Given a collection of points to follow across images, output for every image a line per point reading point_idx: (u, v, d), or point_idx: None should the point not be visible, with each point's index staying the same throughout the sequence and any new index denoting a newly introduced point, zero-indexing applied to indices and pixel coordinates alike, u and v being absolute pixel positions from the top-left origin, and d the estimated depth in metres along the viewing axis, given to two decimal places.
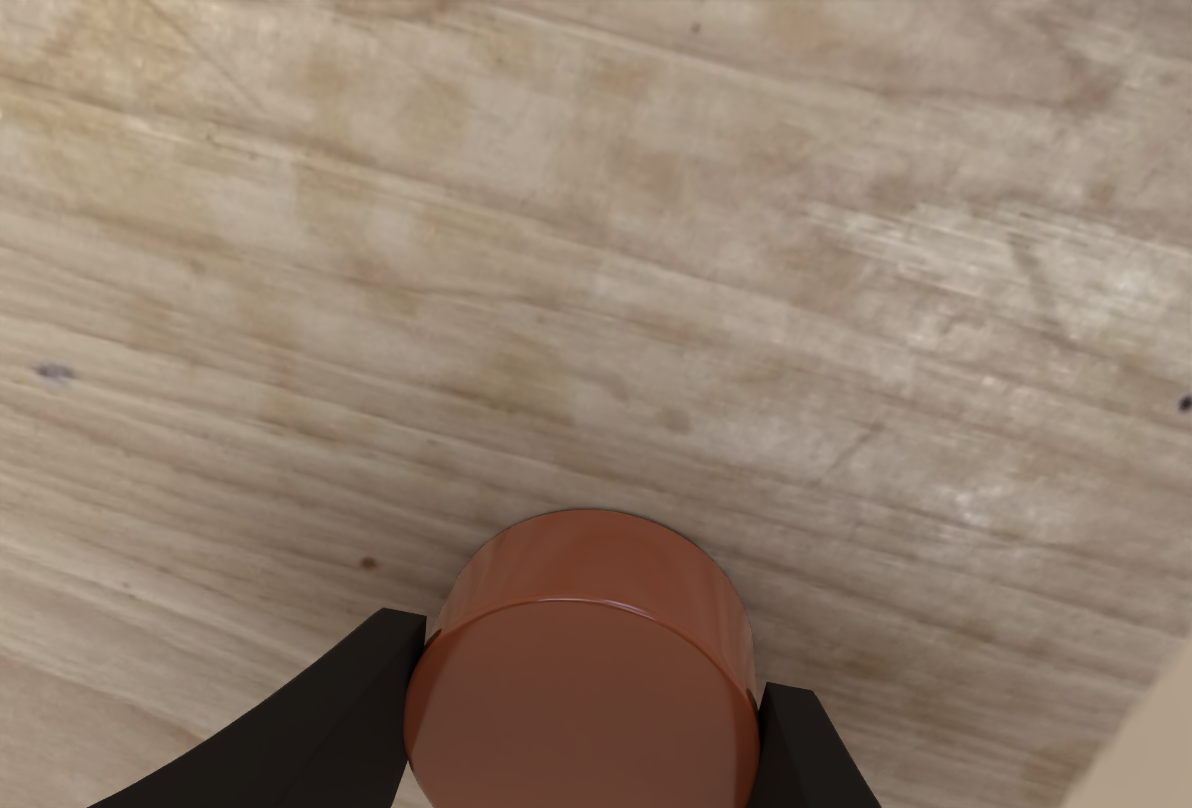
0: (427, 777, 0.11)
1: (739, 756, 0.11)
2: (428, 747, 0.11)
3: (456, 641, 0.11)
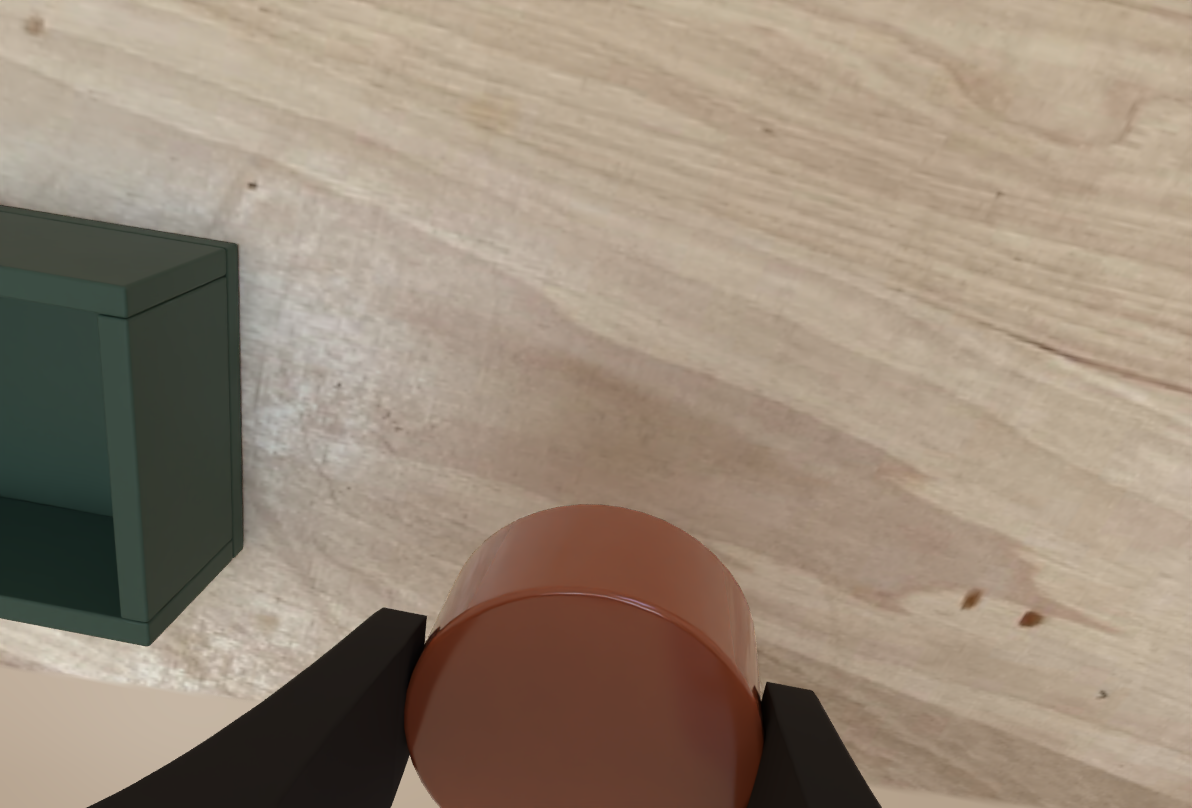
0: (429, 772, 0.11)
1: (742, 751, 0.11)
2: (430, 742, 0.11)
3: (458, 634, 0.11)
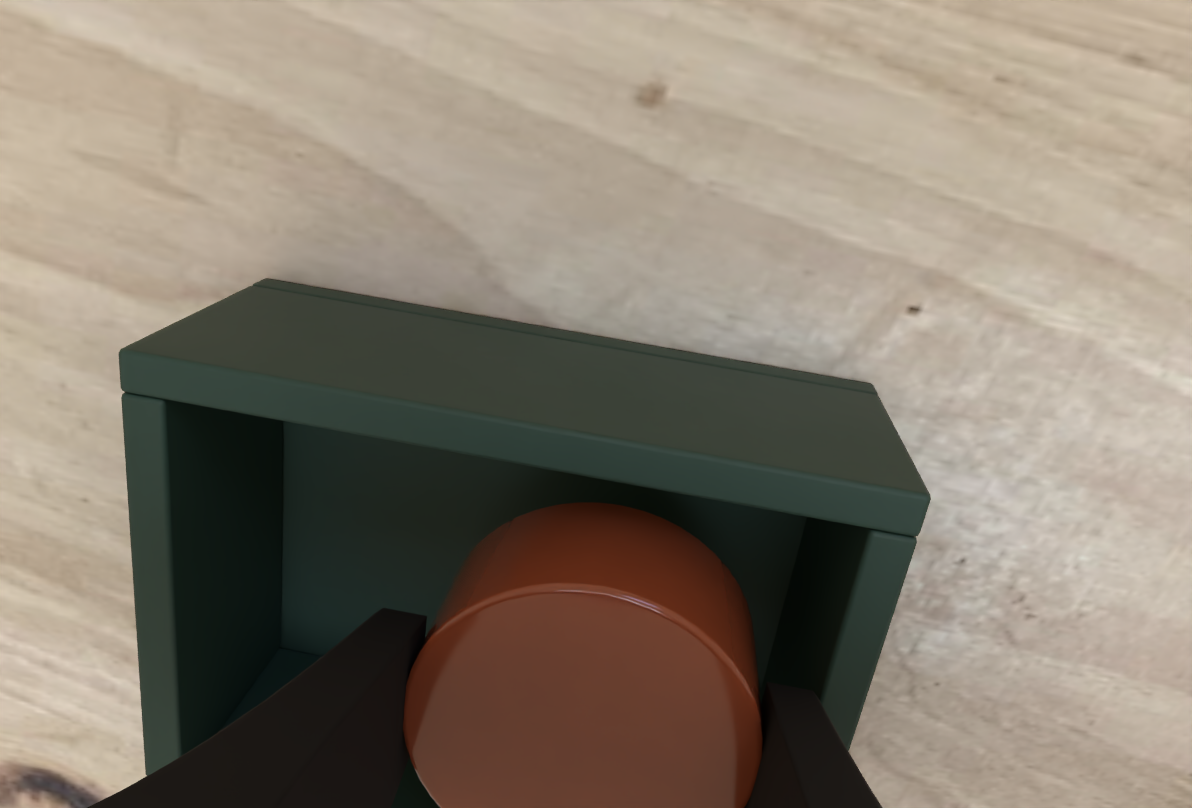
0: (427, 771, 0.11)
1: (741, 749, 0.11)
2: (428, 740, 0.11)
3: (457, 633, 0.11)
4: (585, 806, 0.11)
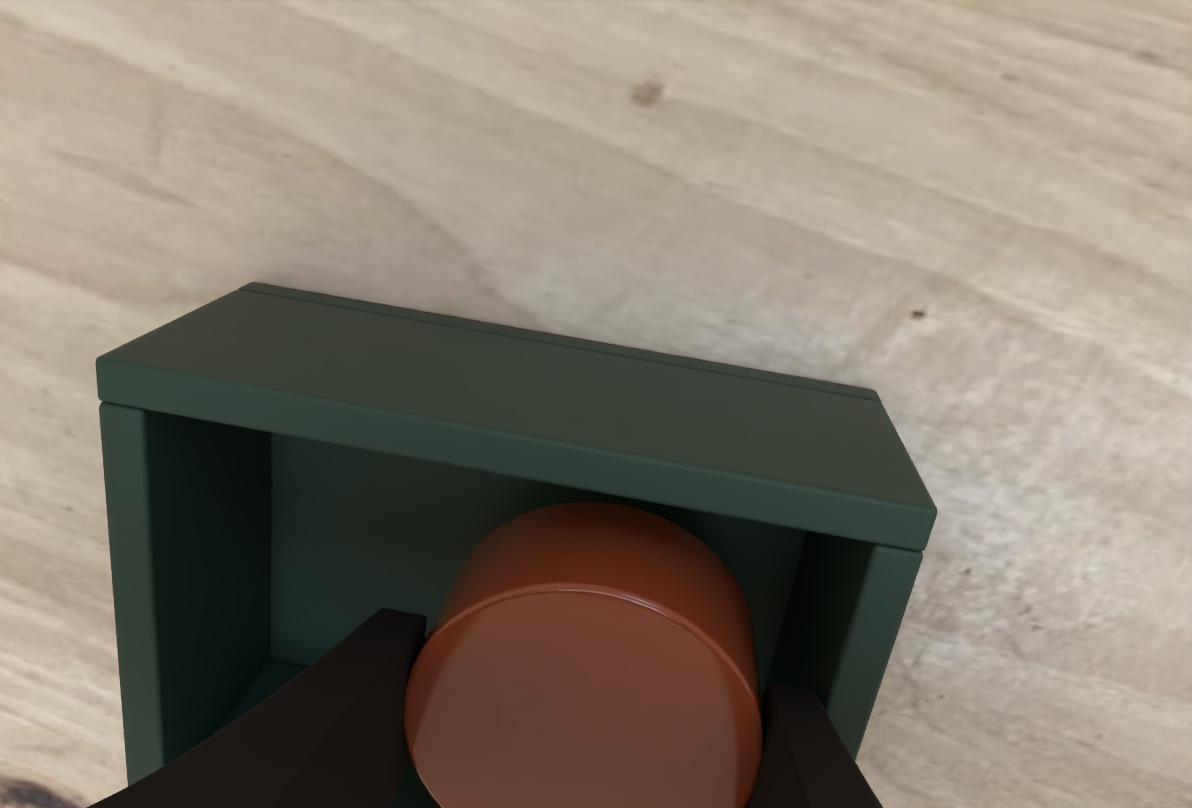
0: (428, 770, 0.11)
1: (742, 748, 0.11)
2: (429, 740, 0.11)
3: (458, 632, 0.11)
4: (586, 805, 0.11)
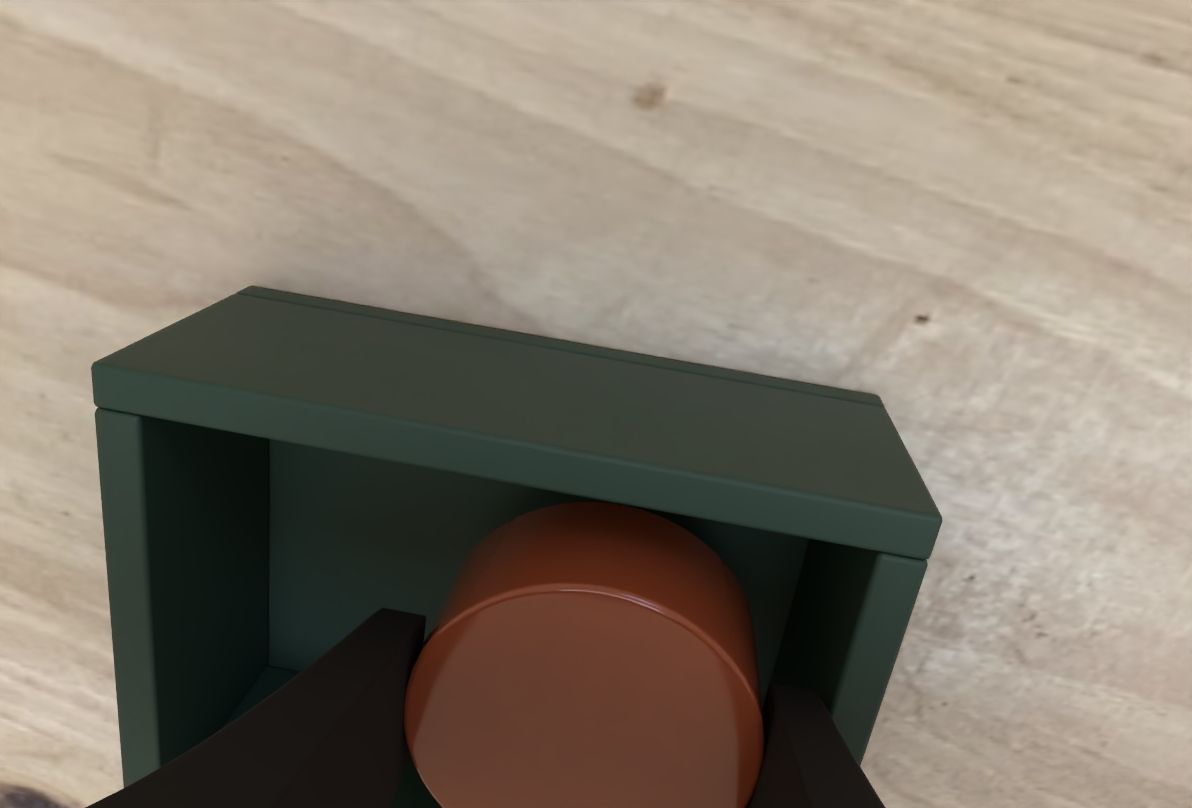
0: (428, 770, 0.11)
1: (743, 748, 0.11)
2: (430, 740, 0.11)
3: (459, 632, 0.11)
4: (586, 805, 0.11)
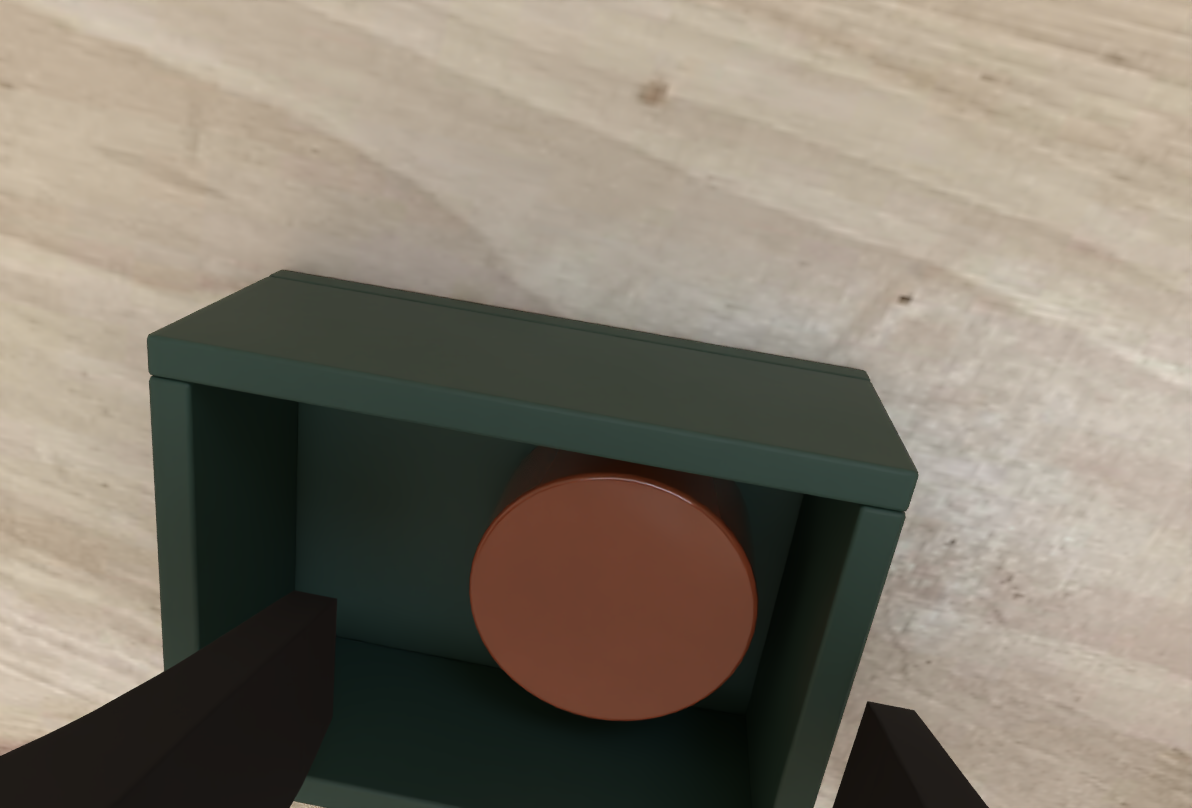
0: (488, 632, 0.14)
1: (741, 608, 0.13)
2: (490, 606, 0.14)
3: (515, 514, 0.13)
4: (615, 660, 0.14)
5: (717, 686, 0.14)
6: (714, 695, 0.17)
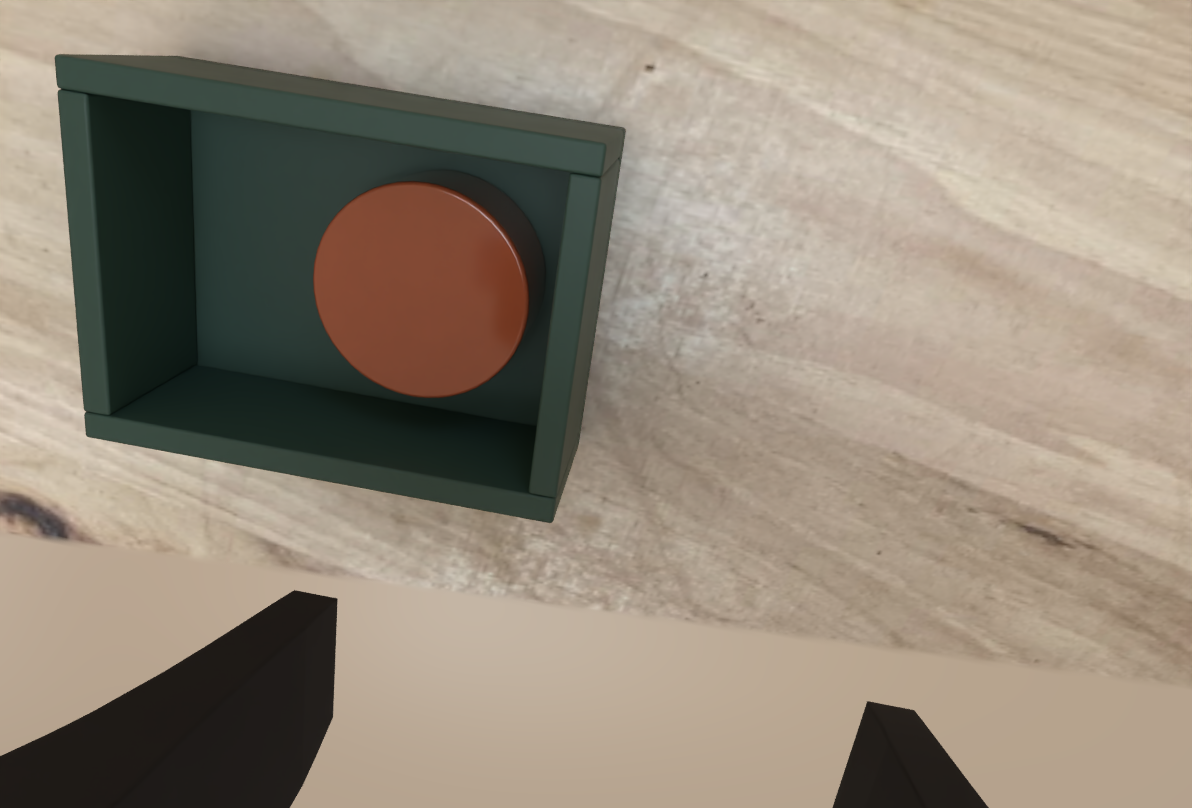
0: (329, 323, 0.18)
1: (515, 292, 0.18)
2: (329, 299, 0.18)
3: (343, 219, 0.18)
4: (426, 342, 0.18)
5: (504, 362, 0.18)
6: (529, 411, 0.21)
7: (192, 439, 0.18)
